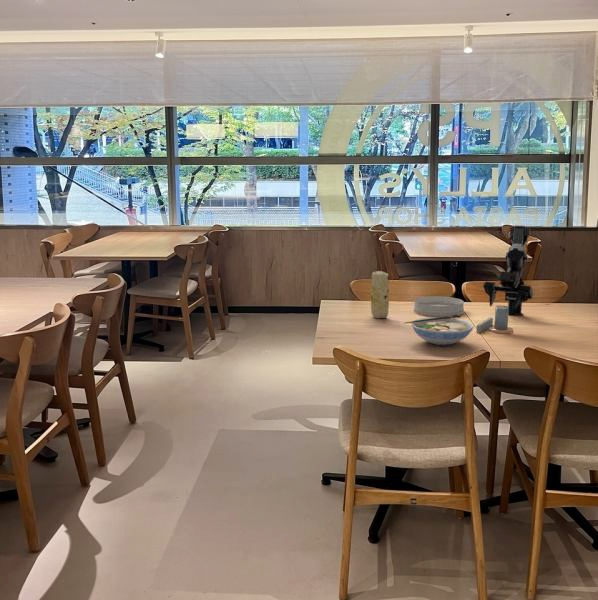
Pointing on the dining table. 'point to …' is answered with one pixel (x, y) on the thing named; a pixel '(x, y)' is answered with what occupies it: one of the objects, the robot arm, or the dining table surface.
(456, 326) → the ramen bowl
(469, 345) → the dining table surface
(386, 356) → the dining table surface
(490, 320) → the acrylic divider
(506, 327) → the salt shaker
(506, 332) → the coaster
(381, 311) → the food model
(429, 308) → the dish
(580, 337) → the dining table surface
